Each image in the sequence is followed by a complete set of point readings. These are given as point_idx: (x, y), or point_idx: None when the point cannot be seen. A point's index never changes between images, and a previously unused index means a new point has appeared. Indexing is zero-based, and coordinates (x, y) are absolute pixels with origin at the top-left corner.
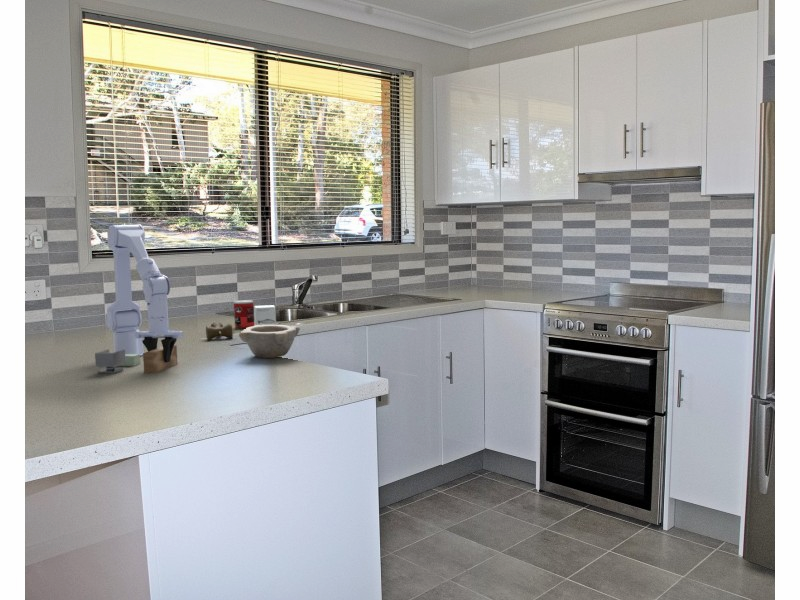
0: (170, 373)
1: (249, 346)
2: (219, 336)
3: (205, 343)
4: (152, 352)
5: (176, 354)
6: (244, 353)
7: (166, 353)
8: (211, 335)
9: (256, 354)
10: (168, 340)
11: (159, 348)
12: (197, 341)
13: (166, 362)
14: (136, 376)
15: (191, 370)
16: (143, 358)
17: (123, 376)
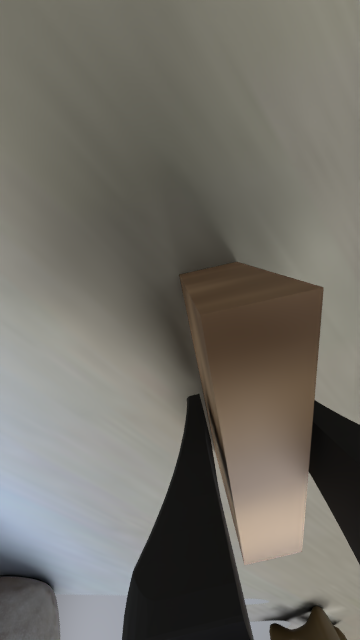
0: (75, 298)
1: (4, 635)
2: (299, 627)
3: (303, 594)
4: (238, 359)
5: (226, 493)
6: (112, 582)
7: (184, 441)
8: (314, 629)
9: (1, 589)
10: (128, 635)
11: (289, 486)
12: (335, 596)
13: (208, 408)
14: (217, 150)
15: (36, 385)
16: (284, 278)
17: (308, 119)
